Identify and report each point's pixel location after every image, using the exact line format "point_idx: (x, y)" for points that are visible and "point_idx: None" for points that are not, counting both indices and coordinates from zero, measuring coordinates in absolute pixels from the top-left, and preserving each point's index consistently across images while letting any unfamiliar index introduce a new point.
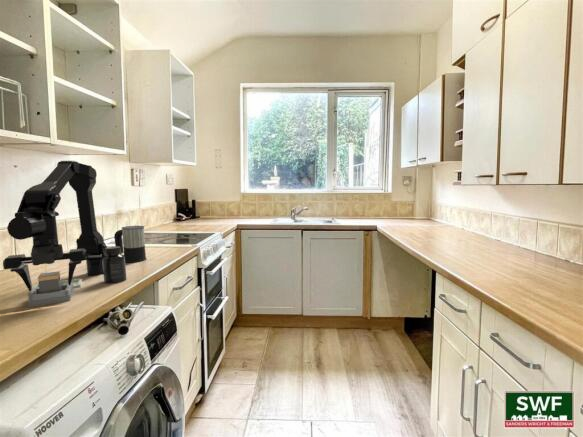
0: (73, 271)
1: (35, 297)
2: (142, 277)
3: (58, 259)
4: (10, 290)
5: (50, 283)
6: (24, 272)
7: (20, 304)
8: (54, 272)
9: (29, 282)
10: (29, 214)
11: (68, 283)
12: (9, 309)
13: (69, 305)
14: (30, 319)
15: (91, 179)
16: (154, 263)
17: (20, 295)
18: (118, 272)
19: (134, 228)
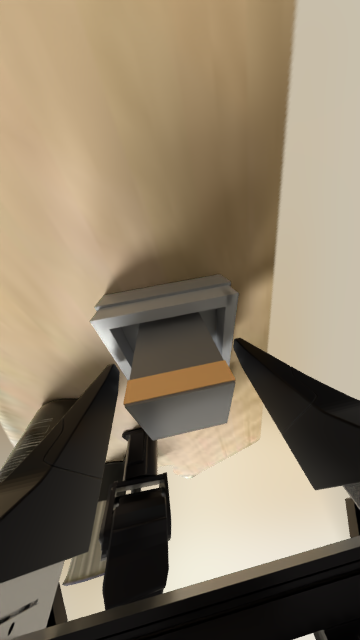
0: (42, 442)
1: (210, 293)
2: (18, 426)
3: (108, 637)
4: (257, 393)
5: (167, 354)
6: (342, 417)
7: (241, 323)
8: (169, 430)
9: (257, 363)
10: None
11: (110, 370)
12: (264, 292)
13: (86, 258)
14: (185, 64)
15: None
16: None
17: (243, 373)
18: (21, 441)
19: (76, 582)
